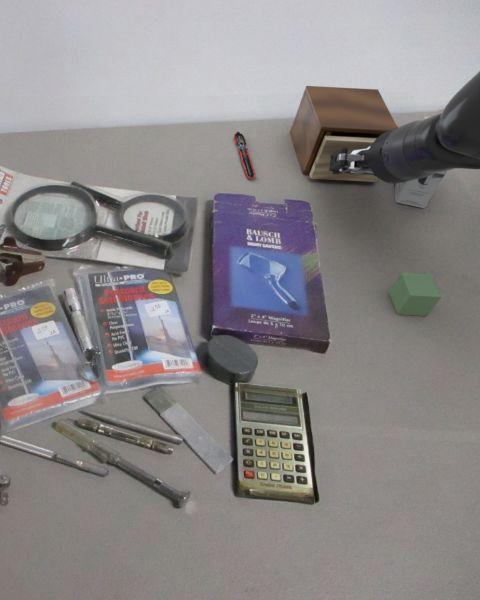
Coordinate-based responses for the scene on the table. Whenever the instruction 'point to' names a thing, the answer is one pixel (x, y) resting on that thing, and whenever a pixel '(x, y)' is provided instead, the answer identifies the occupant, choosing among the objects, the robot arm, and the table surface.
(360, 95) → the cabinet
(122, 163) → the table surface
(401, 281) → the block
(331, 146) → the drawer
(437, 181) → the ink box
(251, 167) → the red black pliers
